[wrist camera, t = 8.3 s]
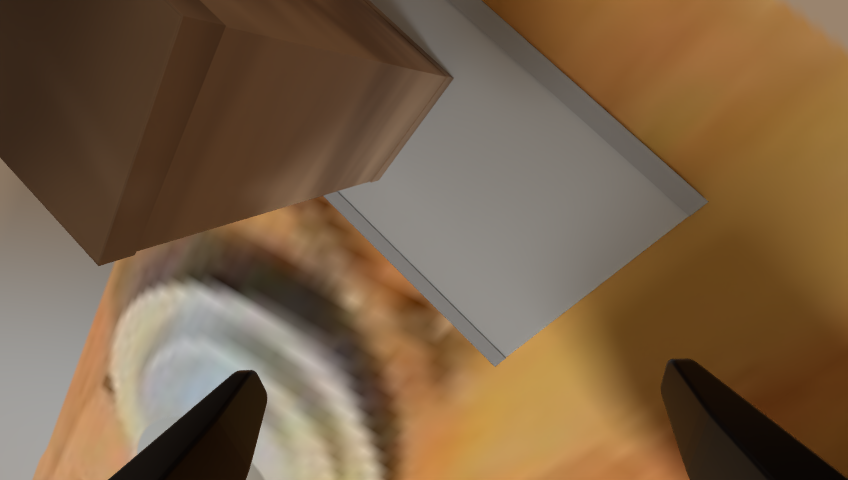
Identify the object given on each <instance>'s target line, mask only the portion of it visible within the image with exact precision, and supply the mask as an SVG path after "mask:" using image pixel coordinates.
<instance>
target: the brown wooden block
mask: <svg viewBox="0 0 848 480" xmlns="http://www.w3.org/2000/svg"><path fill="white" fill-rule="evenodd" d="M453 79H454V78H453V77H452V76H451V75H450V74H449V73H448V72H447V71H446V70H445V69H443V68H442V67H441V66H440V65H439V64H438V63H437V62H436V61H435V60H434V59H433V58H432V57H430V56H429V55H428V54H427V53H426V52H425V51H424V50H423V49H422V48H421V47H420V46H418V45H417V44H416V43H415V42H414V41H413V40H412V39H411V38H410V37H409V36H408V35H407V34H405V33H404V32H403V31H402V30H401V29H400V28H399V27H398V26H397V25H396V24H395V23H394V22H392V21H391V20H390V19H389V18H388V17H387V16H386V15H385V14H384V13H383V12H382V11H380V10H379V9H378V8H377V7H376V6H375V5H374V4H373V3H372V2H371V1H370V0H0V158H1V159H2V160H3V161H4V162H5V163H6V164H7V166H8V167H9V168H10V169H11V170H12V171H13V172H14V173H15V174H16V175H17V177H18V178H19V179H20V180H21V181H22V182H23V183H24V184H25V185H26V186H27V188H28V189H29V190H30V191H31V192H32V193H33V194H34V195H35V196H36V198H38V200H39V201H40V202H41V203H42V204H43V205H44V206H45V207H46V209H47V210H48V211H49V212H50V213H51V214H52V215H53V216H54V217H55V218H56V220H57V221H58V222H59V223H60V224H61V225H62V226H63V227H64V228H65V229H66V231H67V232H68V233H69V234H70V235H71V236H72V237H73V238H74V239H75V241H76V242H77V243H78V244H79V245H80V246H81V247H82V248H83V249H84V250H85V252H86V253H87V254H88V255H89V256H90V257H91V258H92V259H93V260H94V262H95V263H96V264H97V265H98V266H100V265H104V264H107V263H110V262H113V261H117V260H120V259H123V258H126V257H130V256H133V255H135V253H136V251H140V250H143V249H146V248H150V247H153V246H156V245H160V244H163V243H166V242H170V241H173V240H176V239H180V238H183V237H186V236H190V235H193V234H196V233H200V232H203V231H206V230H210V229H213V228H216V227H220V226H223V225H226V224H230V223H233V222H236V221H240V220H243V219H246V218H250V217H253V216H256V215H260V214H263V213H266V212H270V211H273V210H276V209H280V208H283V207H286V206H290V205H293V204H296V203H300V202H303V201H307V200H310V199H313V198H317V197H320V196H323V195H327V194H330V193H333V192H337V191H340V190H343V189H347V188H350V187H353V186H357V185H360V184H363V183H367V182H371V183H372V182H375V181H378V180H379V179H380V178H381V177H382V175H383V174H384V173H385V171H386V170H387V169H388V167H389V166H390V165H391V163H392V162H393V160H394V159H395V158H396V156H397V155H398V154H399V152H400V151H401V150H402V148H403V147H404V146H405V144H406V143H407V141H408V140H409V139H410V137H411V136H412V135H413V133H414V132H415V131H416V129H417V128H418V126H419V125H420V124H421V122H422V121H423V120H424V118H425V117H426V116H427V114H428V113H429V112H430V110H431V109H432V107H433V106H434V105H435V103H436V102H437V101H438V99H439V98H440V97H441V95H442V94H443V93H444V91H445V90H446V88H447V87H448V86H449V84H450V83H451V82H452V80H453Z"/></svg>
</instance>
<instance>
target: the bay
mask: <svg viewBox="0 0 848 480" xmlns="http://www.w3.org/2000/svg"><path fill="white" fill-rule="evenodd" d="M370 1H371V2H372V3H373V4H374V5H375V6H376V7H377V8H378V9H379V10H380V11H382V12H383V13H384V14H385V15H386V16H387V17H388V18H389V19H390V20H391V21H392V22H394V23H395V24H396V25H397V26H398V27H399V28H400V29H401V30H402V31H403V32H404V33H405V34H407V35H408V36H409V37H410V38H411V39H412V40H413V41H414V42H415V43H416V44H417V45H418V46H420V47H421V48H422V49H423V50H424V51H425V52H426V53H427V54H428V55H429V56H430V57H432V58H433V59H434V60H435V61H436V62H437V63H438V64H439V65H440V66H441V67H442V68H443V69H445V70H446V71H447V72H448V73H449V74H450V75H451V76H452V77H453V78H454V79H453V80H452V82H451V83H450V84H449V86H448V87H447V88H446V90H445V91H444V93H443V94H442V95H441V97H440V98H439V99H438V101H437V102H436V103H435V105H434V106H433V107H432V109H431V110H430V112H429V113H428V114H427V116H426V117H425V118H424V120H423V121H422V122H421V124H420V125H419V126H418V128H417V129H416V131H415V132H414V133H413V135H412V136H411V137H410V139H409V140H408V141H407V143H406V144H405V146H404V147H403V148H402V150H401V151H400V152H399V154H398V155H397V156H396V158H395V159H394V160H393V162H392V163H391V165H390V166H389V167H388V169H387V170H386V171H385V173H384V174H383V175H382V177H381V178H380V179H379V180H378V181H375V182H372V183H371V182H367V183H363V184H360V185H357V186H353V187H350V188H347V189H343V190H340V191H337V192H333V193H330V194H327V195H323V196H324V197H325V198H326V199H327V200H328V201H329V202H330V203H331V204H332V205H333V206H334V207H335V208H336V209H337V210H338V211H339V212H340V213H341V214H342V215H343V216H344V217H345V218H346V219H347V220H348V221H349V222H350V223H351V224H352V225H353V226H354V227H355V228H356V229H357V230H358V231H359V232H360V233H361V234H362V235H363V236H364V237H365V238H366V239H367V240H368V241H369V242H370V243H371V244H372V245H373V246H374V247H375V248H376V249H377V250H378V251H379V252H380V253H381V254H382V255H383V256H384V257H385V258H386V259H387V260H388V261H389V262H390V263H391V264H392V265H393V266H394V267H395V268H396V269H397V270H398V271H399V272H400V273H401V274H402V275H403V276H404V277H405V278H406V279H407V280H408V281H409V282H410V283H411V284H412V285H413V286H414V287H415V288H416V289H417V290H418V291H419V292H420V293H421V294H422V295H423V296H424V297H425V298H426V299H427V300H428V301H429V302H430V303H431V304H432V305H433V306H434V307H435V308H436V309H437V310H438V311H439V312H440V313H441V314H442V315H443V316H444V317H445V318H446V319H448V320H449V321H450V322H451V323H452V324H453V325H454V326H455V327H456V328H457V329H458V330H459V331H460V332H461V333H462V334H463V335H464V336H465V337H466V338H467V339H468V340H469V341H470V342H471V343H472V344H473V345H474V346H475V347H476V348H477V349H478V350H479V351H480V352H481V353H482V354H483V355H484V356H485V357H486V358H487V359H488V360H489V361H490V362H491V363H492V364H493V365H494V366H496V365H498V364H499V363H500V362H502V361H503V360H504V359H505V358H506V357H507V356H508V355H510V354H511V353H512V352H514V351H515V350H516V349H517V348H519V347H520V346H521V345H523V344H524V343H525V342H527V341H528V340H529V339H530V338H532V337H533V336H534V335H536V334H537V333H538V332H539V331H541V330H542V329H543V328H545V327H546V326H547V325H549V324H550V323H551V322H552V321H554V320H555V319H556V318H558V317H559V316H560V315H561V314H563V313H564V312H565V311H567V310H568V309H569V308H571V307H572V306H573V305H574V304H576V303H577V302H578V301H580V300H581V299H582V298H583V297H585V296H586V295H587V294H589V293H590V292H591V291H593V290H594V289H595V288H596V287H598V286H599V285H600V284H602V283H603V282H604V281H605V280H607V279H608V278H609V277H611V276H612V275H613V274H615V273H616V272H617V271H618V270H620V269H621V268H622V267H624V266H625V265H626V264H627V263H629V262H630V261H631V260H633V259H634V258H635V257H637V256H638V255H639V254H640V253H642V252H643V251H644V250H646V249H647V248H648V247H649V246H651V245H652V244H653V243H655V242H656V241H657V240H659V239H660V238H661V237H662V236H664V235H665V234H666V233H668V232H669V231H670V230H671V229H673V228H674V227H675V226H677V225H678V224H679V223H681V222H682V221H683V220H684V219H686V218H687V217H688V216H691V215H692V214H693V213H695V212H696V211H697V210H699V209H700V208H701V207H702V206H704V205H705V204H706V203H708V201H707V200H706V199H705V198H704V197H703V196H701V195H700V194H699V193H698V192H697V191H696V190H695V189H694V188H692V187H691V186H690V185H689V184H688V183H687V182H686V181H685V180H683V179H682V178H681V177H680V176H679V175H678V174H677V173H676V172H674V171H673V170H672V169H671V168H670V167H669V166H668V165H667V164H665V163H664V162H663V161H662V160H661V159H660V158H659V157H657V156H656V155H655V154H654V153H653V152H652V151H651V150H650V149H648V148H647V147H646V146H645V145H644V144H643V143H642V142H641V141H639V140H638V139H637V138H636V137H635V136H634V135H633V134H632V133H630V132H629V131H628V130H627V129H626V128H625V127H624V126H623V125H621V124H620V123H619V122H618V121H617V120H616V119H615V118H613V117H612V116H611V115H610V114H609V113H608V112H607V111H606V110H604V109H603V108H602V107H601V106H600V105H599V104H598V103H597V102H595V101H594V100H593V99H592V98H591V97H590V96H589V95H588V94H586V93H585V92H584V91H583V90H582V89H581V88H580V87H579V86H577V85H576V84H575V83H574V82H573V81H572V80H571V79H570V78H568V77H567V76H566V75H565V74H564V73H563V72H562V71H560V70H559V69H558V68H557V67H556V66H555V65H554V64H553V63H551V62H550V61H549V60H548V59H547V58H546V57H545V56H544V55H542V54H541V53H540V52H539V51H538V50H537V49H536V48H535V47H533V46H532V45H531V44H530V43H529V42H528V41H527V40H526V39H524V38H523V37H522V36H521V35H520V34H519V33H518V32H516V31H515V30H514V29H513V28H512V27H511V26H510V25H509V24H507V23H506V22H505V21H504V20H503V19H502V18H501V17H500V16H498V15H497V14H496V13H495V12H494V11H493V10H492V9H491V8H489V7H488V6H487V5H486V4H485V3H484V2H483V1H482V0H370Z"/></svg>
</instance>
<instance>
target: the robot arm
mask: <svg viewBox="0 0 848 480" xmlns="http://www.w3.org/2000/svg"><path fill="white" fill-rule="evenodd" d="M661 394H662V398H663V401H664V404H665V407H666V410H667V413H668V416H669V419H670V423H671V426H672V429H673V432H674V435H675V438H676V441H677V444H678V447H679V450H680V453H681V456H682V460H683V462H684V465H685V468H686V471H687V474H688V476H689V478H690V480H848V478H847V477H845V476H844V475H843V474H841V473H840V472H839V471H838V470H836V469H835V468H834V467H832V466H831V465H830V464H828V463H827V462H826V461H824V460H823V459H822V458H821V457H819V456H818V455H817V454H815V453H814V452H813V451H811V450H810V449H809V448H808V447H806V446H805V445H804V444H802V443H801V442H800V441H798V440H797V439H796V438H795V437H793V436H792V435H791V434H789V433H788V432H787V431H785V430H784V429H783V428H781V427H780V426H779V425H778V424H776V423H775V422H774V421H772V420H771V419H770V418H768V417H767V416H766V415H765V414H763V413H762V412H761V411H759V410H758V409H757V408H755V407H754V406H753V405H751V404H750V403H749V402H748V401H746V400H745V399H744V398H742V397H741V396H740V395H738V394H737V393H736V392H735V391H733V390H732V389H731V388H729V387H728V386H727V385H725V384H724V383H723V382H721V381H720V380H719V379H718V378H716V377H715V376H714V375H712V374H711V373H710V372H708V371H707V370H706V369H705V368H703V367H702V366H701V365H699V364H698V363H697V362H695V361H693V360H691V359H670V360H669V361H668V362H667V365H666V368H665V372H664V376H663V380H662V383H661ZM266 404H267V392H266V390H265V388H264V386H263V384H262V382H261V380H260V378H259V376H258V374H257V373H256V372H255V371H253V370H241V371H236V372H235V373H233V374H232V375H231V376H230V377H228V378H227V379H226V380H225V381H224V382H223V383H221V384H220V385H219V386H218V387H217V388H215V389H214V390H213V391H212V392H211V393H210V394H208V395H207V396H206V397H205V398H204V399H203V400H201V401H200V402H199V403H198V404H197V405H195V406H194V407H193V408H192V409H191V410H190V411H188V412H187V413H186V414H185V415H184V416H183V417H181V418H180V419H179V420H178V421H177V422H176V423H174V424H173V425H172V426H171V427H170V428H168V429H167V430H166V431H165V432H164V433H163V434H161V435H160V436H159V437H158V438H157V439H155V440H154V441H153V442H152V443H151V444H150V445H148V446H147V447H146V448H145V449H144V450H143V451H141V452H140V453H139V454H138V455H137V456H135V457H134V458H133V459H132V460H131V461H130V462H128V463H127V464H126V465H125V466H124V467H122V468H121V469H120V470H119V471H118V472H117V473H115V474H114V475H113V476H112V477H111V478H110V479H108V480H246V478H247V475H248V472H249V469H250V465H251V462H252V458H253V455H254V451H255V447H256V443H257V439H258V435H259V431H260V427H261V424H262V420H263V416H264V412H265V408H266Z"/></svg>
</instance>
